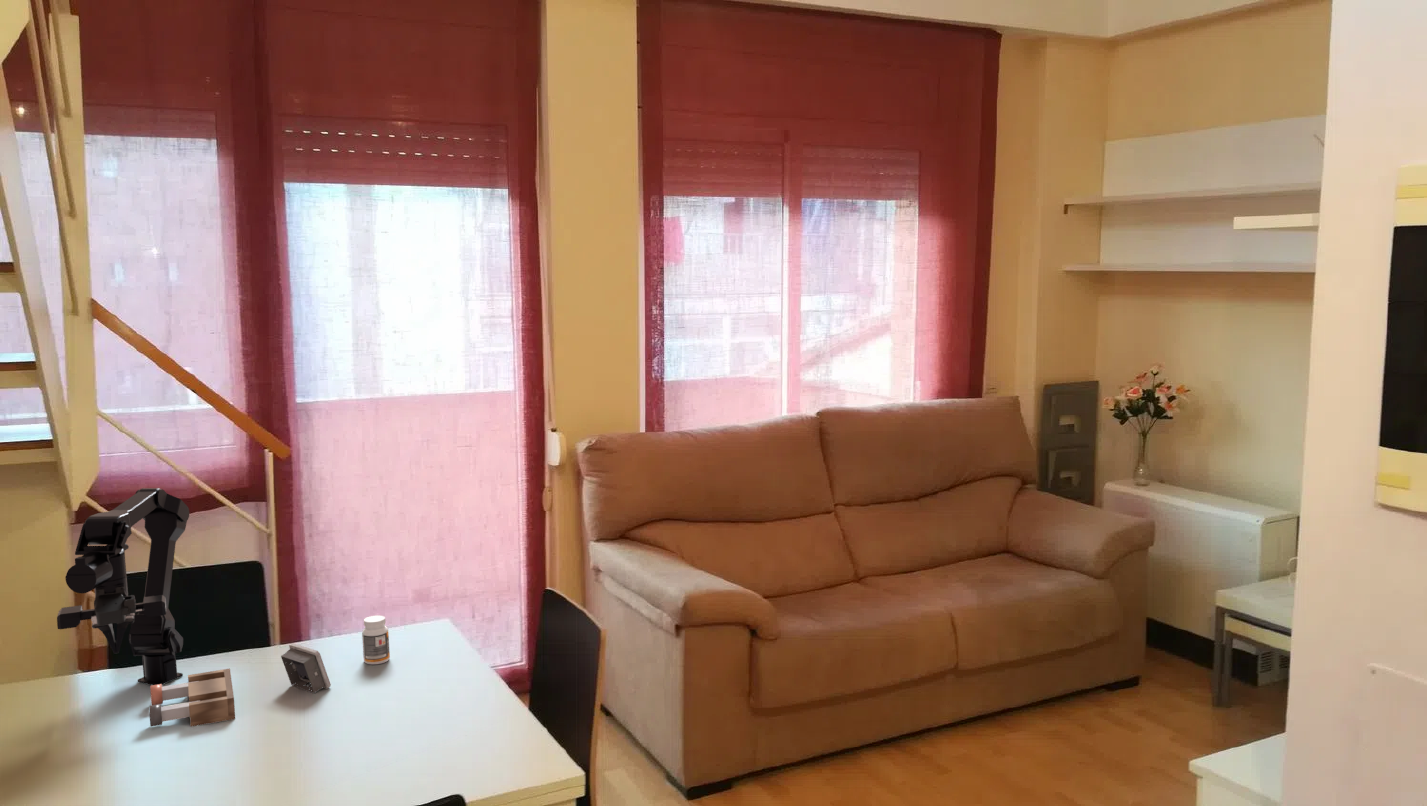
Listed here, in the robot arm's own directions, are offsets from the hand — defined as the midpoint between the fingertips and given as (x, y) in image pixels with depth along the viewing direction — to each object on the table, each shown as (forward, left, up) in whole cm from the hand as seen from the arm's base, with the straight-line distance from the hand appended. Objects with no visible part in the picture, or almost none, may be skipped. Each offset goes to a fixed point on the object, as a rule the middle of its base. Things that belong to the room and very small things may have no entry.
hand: (116, 652), depth 213 cm
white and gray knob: (+15, 0, -12) cm, 19 cm away
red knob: (+6, +7, -12) cm, 16 cm away
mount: (+15, +9, -12) cm, 21 cm away
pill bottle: (+29, +42, -13) cm, 52 cm away
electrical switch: (+26, +24, -13) cm, 37 cm away
